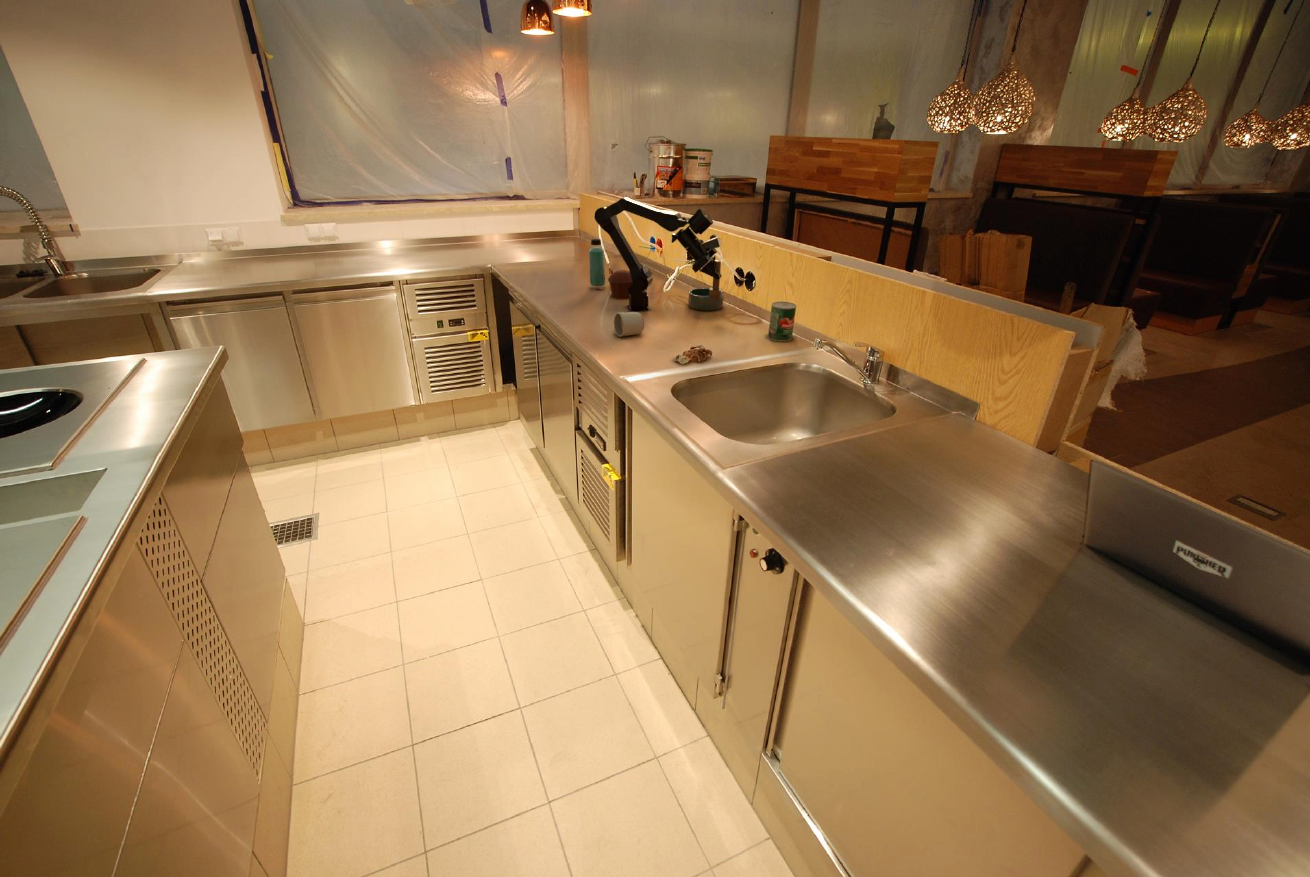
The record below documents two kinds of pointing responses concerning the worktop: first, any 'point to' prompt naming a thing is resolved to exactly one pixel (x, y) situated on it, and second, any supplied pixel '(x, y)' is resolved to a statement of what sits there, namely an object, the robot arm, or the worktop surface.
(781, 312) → the canned tomato
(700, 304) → the bowl
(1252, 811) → the worktop surface
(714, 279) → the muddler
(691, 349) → the pastry
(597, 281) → the beverage bottle
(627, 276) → the muffin
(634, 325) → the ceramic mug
